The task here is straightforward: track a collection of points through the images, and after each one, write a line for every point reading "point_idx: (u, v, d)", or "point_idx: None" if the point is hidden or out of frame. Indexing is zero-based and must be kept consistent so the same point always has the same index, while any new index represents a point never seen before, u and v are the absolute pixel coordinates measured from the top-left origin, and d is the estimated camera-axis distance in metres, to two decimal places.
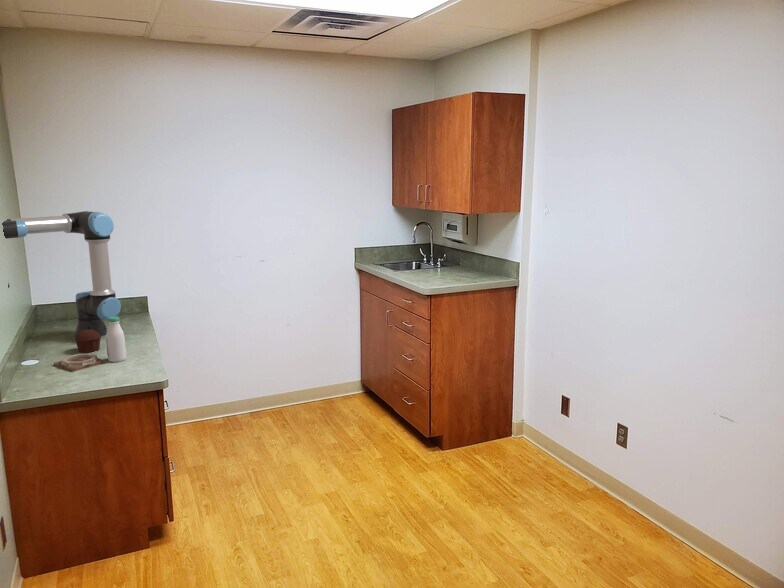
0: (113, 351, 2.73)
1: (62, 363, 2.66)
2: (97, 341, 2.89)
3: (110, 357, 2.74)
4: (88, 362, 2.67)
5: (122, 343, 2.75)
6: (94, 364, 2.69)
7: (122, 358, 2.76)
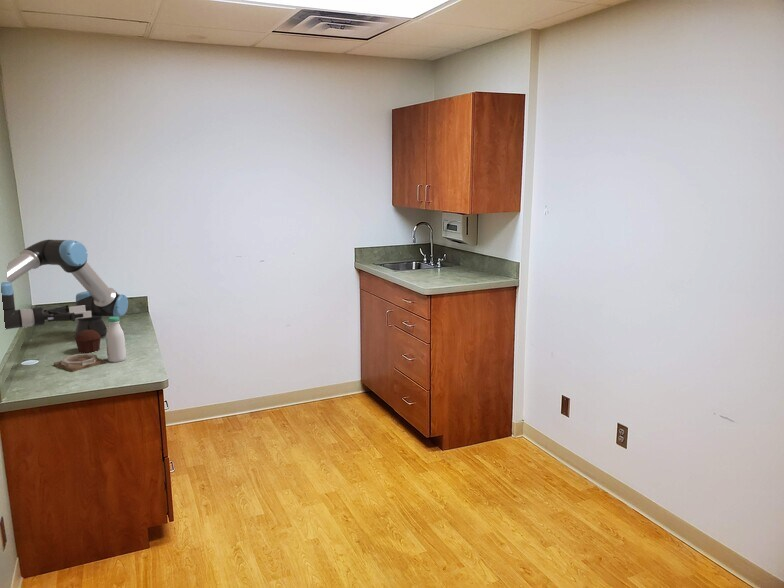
0: (113, 351, 2.73)
1: (62, 363, 2.66)
2: (97, 341, 2.89)
3: (110, 357, 2.74)
4: (88, 362, 2.67)
5: (122, 343, 2.75)
6: (94, 364, 2.69)
7: (122, 358, 2.76)
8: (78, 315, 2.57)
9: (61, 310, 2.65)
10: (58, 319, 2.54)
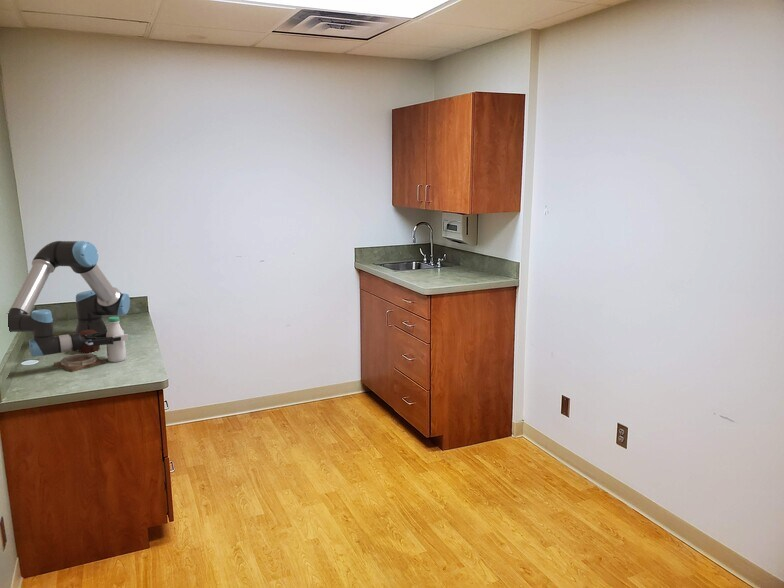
0: (113, 351, 2.73)
1: (62, 363, 2.66)
2: None
3: (110, 357, 2.74)
4: (88, 362, 2.67)
5: (122, 343, 2.75)
6: (94, 364, 2.69)
7: (122, 358, 2.76)
8: (116, 339, 2.71)
9: (99, 335, 2.74)
10: (97, 343, 2.65)
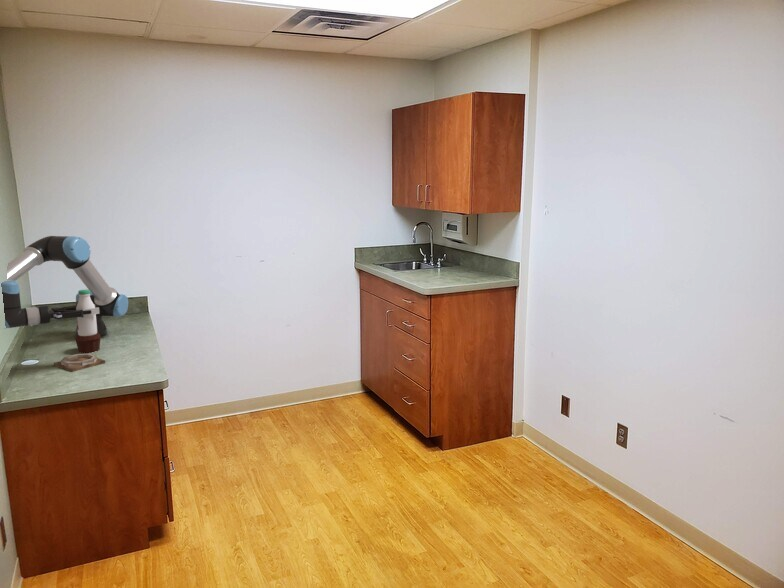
0: (83, 325, 2.66)
1: (62, 363, 2.66)
2: (97, 341, 2.89)
3: (80, 330, 2.66)
4: (88, 362, 2.67)
5: (93, 316, 2.67)
6: (94, 364, 2.69)
7: (93, 332, 2.68)
8: (86, 312, 2.63)
9: (69, 309, 2.67)
10: (66, 316, 2.58)
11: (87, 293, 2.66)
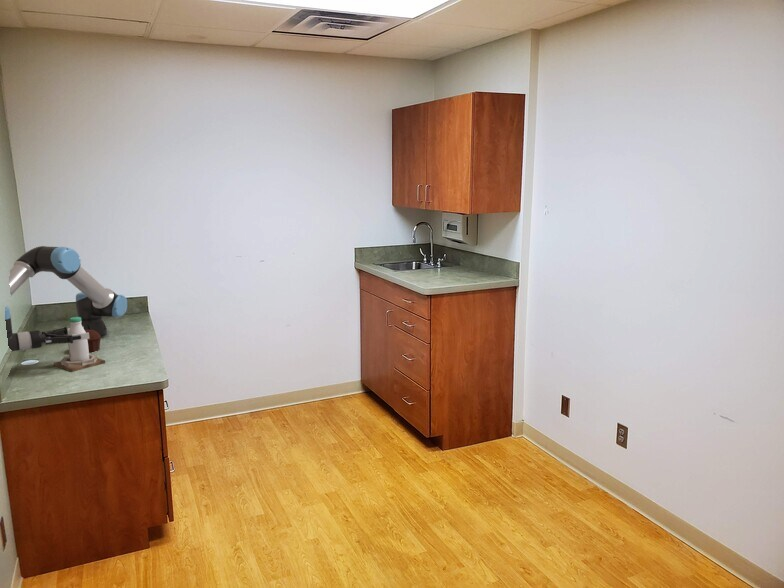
0: (75, 352, 2.66)
1: (62, 363, 2.66)
2: (97, 341, 2.89)
3: (72, 358, 2.67)
4: (88, 362, 2.67)
5: (84, 344, 2.68)
6: (94, 364, 2.69)
7: (85, 359, 2.69)
8: (76, 337, 2.61)
9: (59, 332, 2.68)
10: (55, 341, 2.57)
11: (78, 321, 2.66)
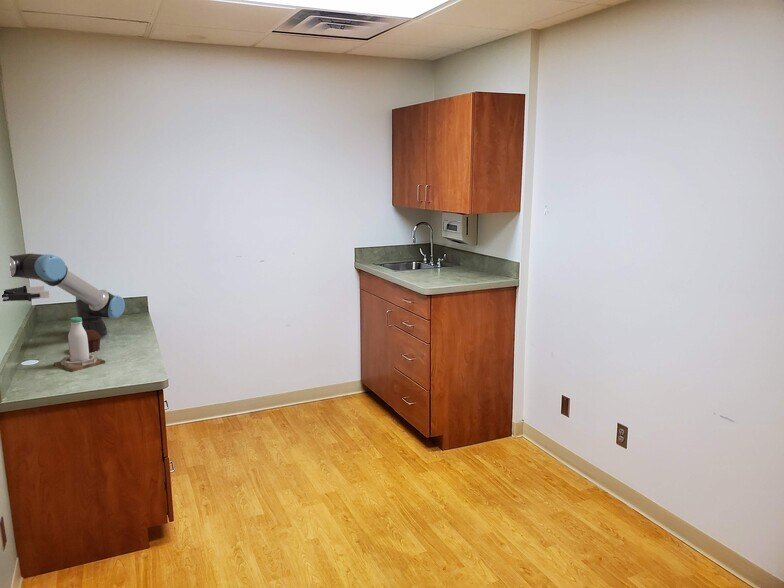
0: (75, 352, 2.66)
1: (62, 363, 2.66)
2: (97, 341, 2.89)
3: (72, 358, 2.67)
4: (88, 362, 2.67)
5: (85, 344, 2.68)
6: (94, 364, 2.69)
7: (85, 359, 2.69)
8: (34, 295, 2.50)
9: (18, 290, 2.57)
10: (13, 298, 2.46)
11: (79, 321, 2.66)
